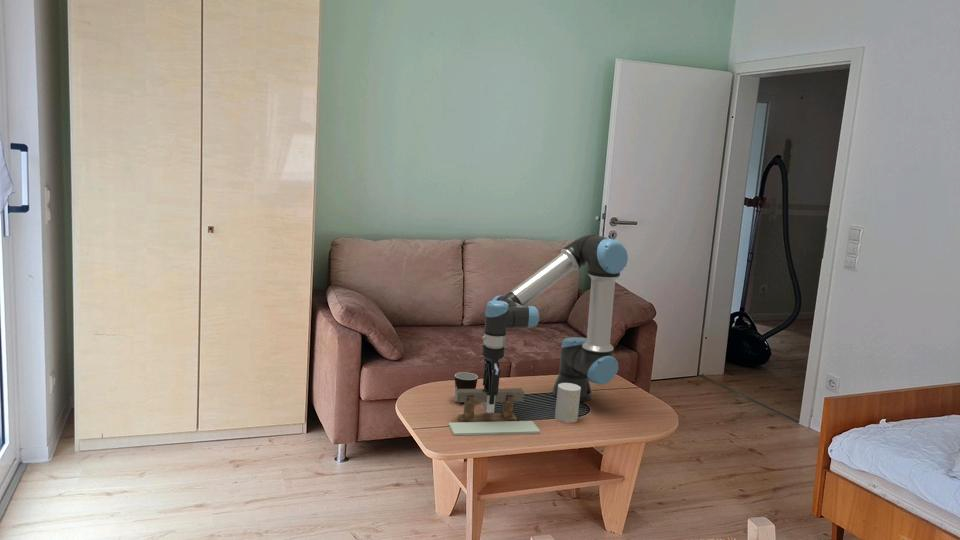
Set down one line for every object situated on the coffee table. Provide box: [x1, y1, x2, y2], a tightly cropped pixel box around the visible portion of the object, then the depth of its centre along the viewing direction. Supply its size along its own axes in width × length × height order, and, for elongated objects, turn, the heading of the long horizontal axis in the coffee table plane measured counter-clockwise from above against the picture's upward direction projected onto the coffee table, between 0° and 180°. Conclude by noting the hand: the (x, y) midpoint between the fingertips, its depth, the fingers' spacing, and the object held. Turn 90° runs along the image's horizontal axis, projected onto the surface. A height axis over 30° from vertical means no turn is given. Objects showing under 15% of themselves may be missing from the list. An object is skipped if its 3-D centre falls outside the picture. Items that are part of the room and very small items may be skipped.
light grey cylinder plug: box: [554, 383, 581, 424], centre depth 261 cm, size 8×8×12 cm
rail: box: [454, 387, 525, 403], centre depth 255 cm, size 24×4×4 cm, turn 104°
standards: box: [458, 396, 518, 422], centre depth 255 cm, size 20×6×9 cm, turn 104°
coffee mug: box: [454, 371, 479, 406], centre depth 271 cm, size 12×9×10 cm
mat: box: [447, 420, 542, 437], centre depth 247 cm, size 30×9×1 cm, turn 104°
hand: (488, 409), depth 256 cm, fingers closed on rail, 3 cm apart
